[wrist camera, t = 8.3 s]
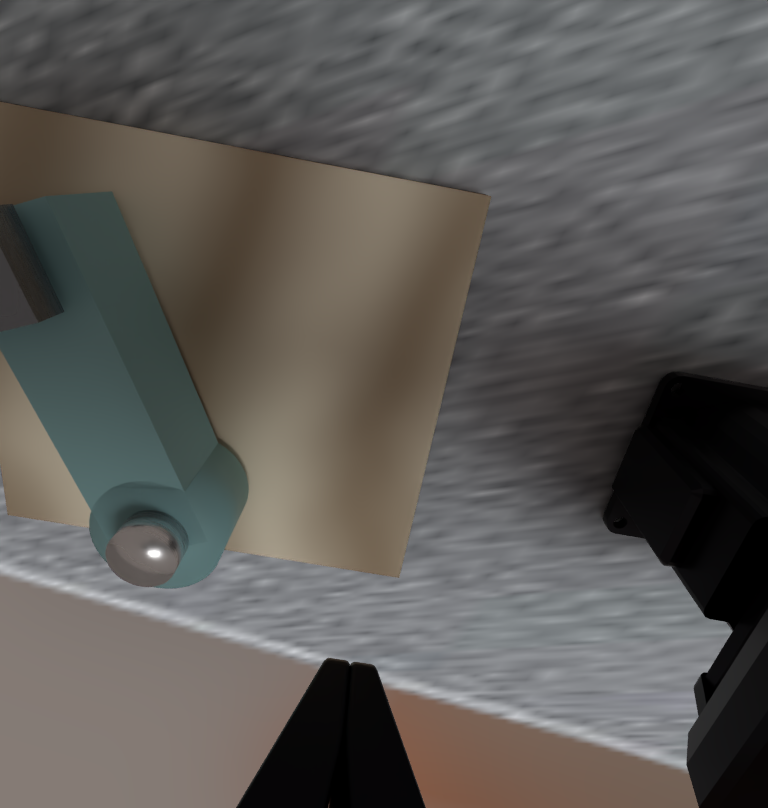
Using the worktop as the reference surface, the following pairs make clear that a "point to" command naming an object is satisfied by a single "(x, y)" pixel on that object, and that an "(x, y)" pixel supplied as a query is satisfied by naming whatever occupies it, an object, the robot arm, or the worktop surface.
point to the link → (123, 400)
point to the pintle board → (260, 323)
